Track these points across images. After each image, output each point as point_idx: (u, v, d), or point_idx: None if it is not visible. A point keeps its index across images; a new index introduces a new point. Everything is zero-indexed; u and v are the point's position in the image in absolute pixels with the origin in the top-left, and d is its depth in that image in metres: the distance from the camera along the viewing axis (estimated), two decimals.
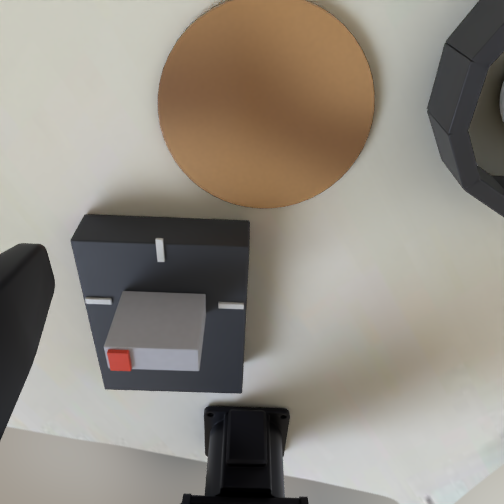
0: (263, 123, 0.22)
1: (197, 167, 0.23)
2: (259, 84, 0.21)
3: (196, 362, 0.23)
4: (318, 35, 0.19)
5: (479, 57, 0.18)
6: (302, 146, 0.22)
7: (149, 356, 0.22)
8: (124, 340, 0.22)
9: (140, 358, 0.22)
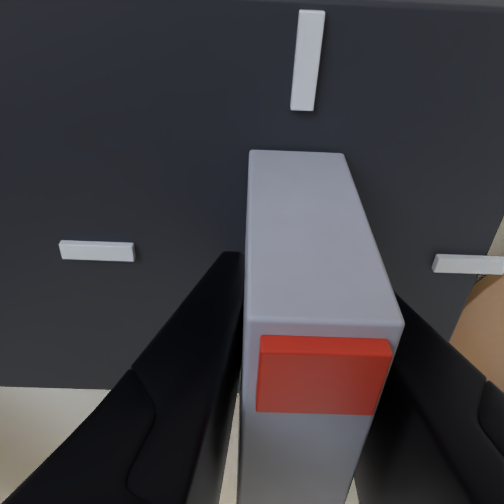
0: None
1: None
2: None
3: None
4: None
5: None
6: None
7: (320, 442, 0.06)
8: None
9: (308, 420, 0.06)
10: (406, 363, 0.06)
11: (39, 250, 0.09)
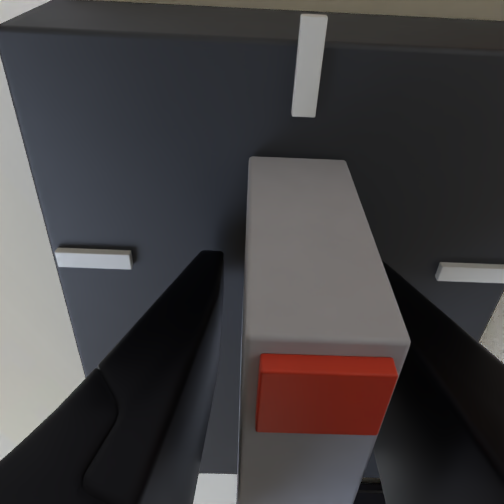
0: None
1: None
2: None
3: None
4: None
5: None
6: None
7: (322, 460, 0.06)
8: None
9: (311, 439, 0.05)
10: (439, 364, 0.06)
11: None
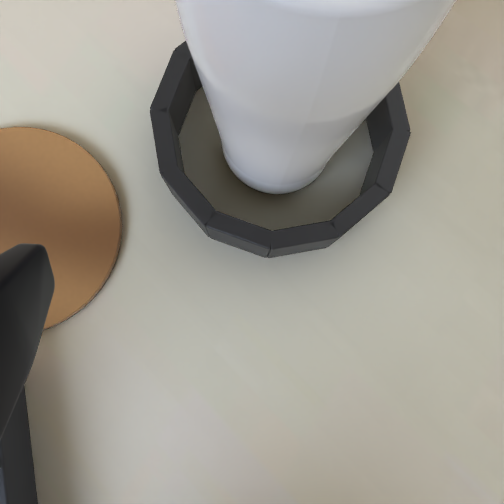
0: (12, 235, 0.22)
1: None
2: (2, 200, 0.22)
3: None
4: (46, 149, 0.22)
5: (156, 105, 0.20)
6: (56, 250, 0.22)
7: None
8: None
9: None
10: None
11: None
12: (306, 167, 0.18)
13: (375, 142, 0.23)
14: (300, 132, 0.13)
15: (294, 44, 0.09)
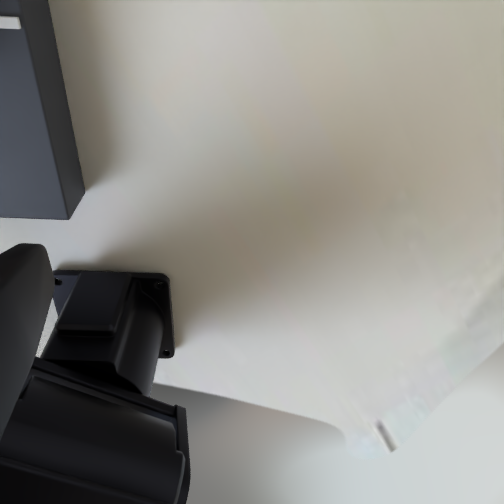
0: None
1: None
2: None
3: None
4: None
5: None
6: None
7: None
8: None
9: None
10: None
11: None
12: None
13: None
14: None
15: None
